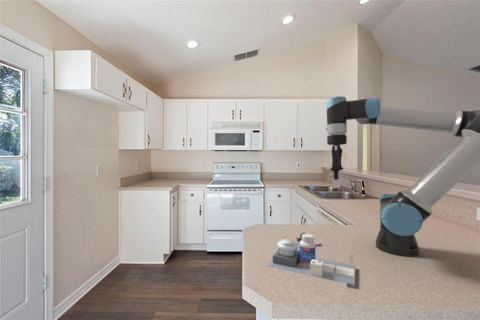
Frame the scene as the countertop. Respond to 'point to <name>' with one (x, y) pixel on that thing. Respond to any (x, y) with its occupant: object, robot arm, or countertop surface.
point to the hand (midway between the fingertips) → (337, 186)
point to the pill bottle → (306, 249)
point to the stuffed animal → (301, 239)
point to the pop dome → (287, 247)
